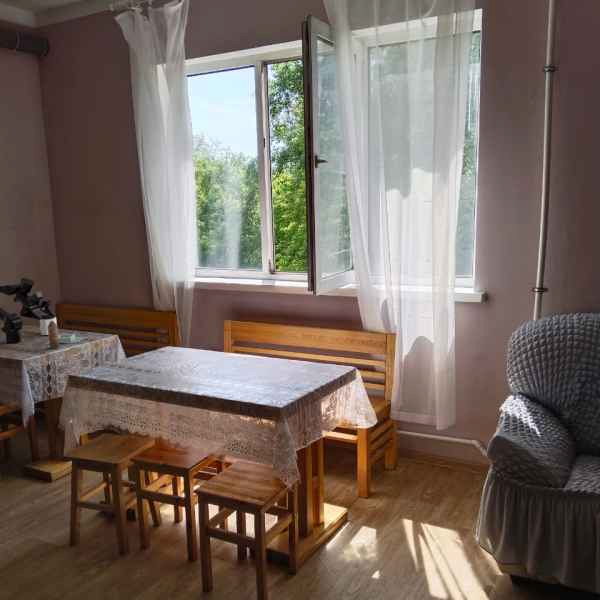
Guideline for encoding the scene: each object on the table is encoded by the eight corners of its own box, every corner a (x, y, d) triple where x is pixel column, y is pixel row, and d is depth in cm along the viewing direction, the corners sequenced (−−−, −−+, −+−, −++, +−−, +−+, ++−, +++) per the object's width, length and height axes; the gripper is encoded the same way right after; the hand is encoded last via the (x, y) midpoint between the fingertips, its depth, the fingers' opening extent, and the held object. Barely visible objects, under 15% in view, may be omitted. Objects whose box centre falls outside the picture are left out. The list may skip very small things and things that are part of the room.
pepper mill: (48, 349, 321) (46, 322, 318) (51, 347, 326) (48, 320, 323) (57, 349, 321) (55, 321, 319) (60, 346, 326) (58, 319, 323)
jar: (42, 336, 349) (40, 315, 347) (39, 334, 356) (37, 313, 354) (59, 334, 354) (57, 313, 352) (56, 331, 361) (54, 311, 358)
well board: (44, 344, 332) (44, 339, 331) (51, 339, 343) (51, 334, 343) (79, 343, 333) (78, 338, 332) (85, 337, 345) (84, 332, 344)
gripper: (18, 290, 318) (39, 308, 316) (44, 285, 336) (65, 302, 333) (10, 308, 322) (31, 326, 319) (36, 301, 339) (57, 318, 337)
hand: (47, 317), depth 327 cm, fingers open, 9 cm apart
